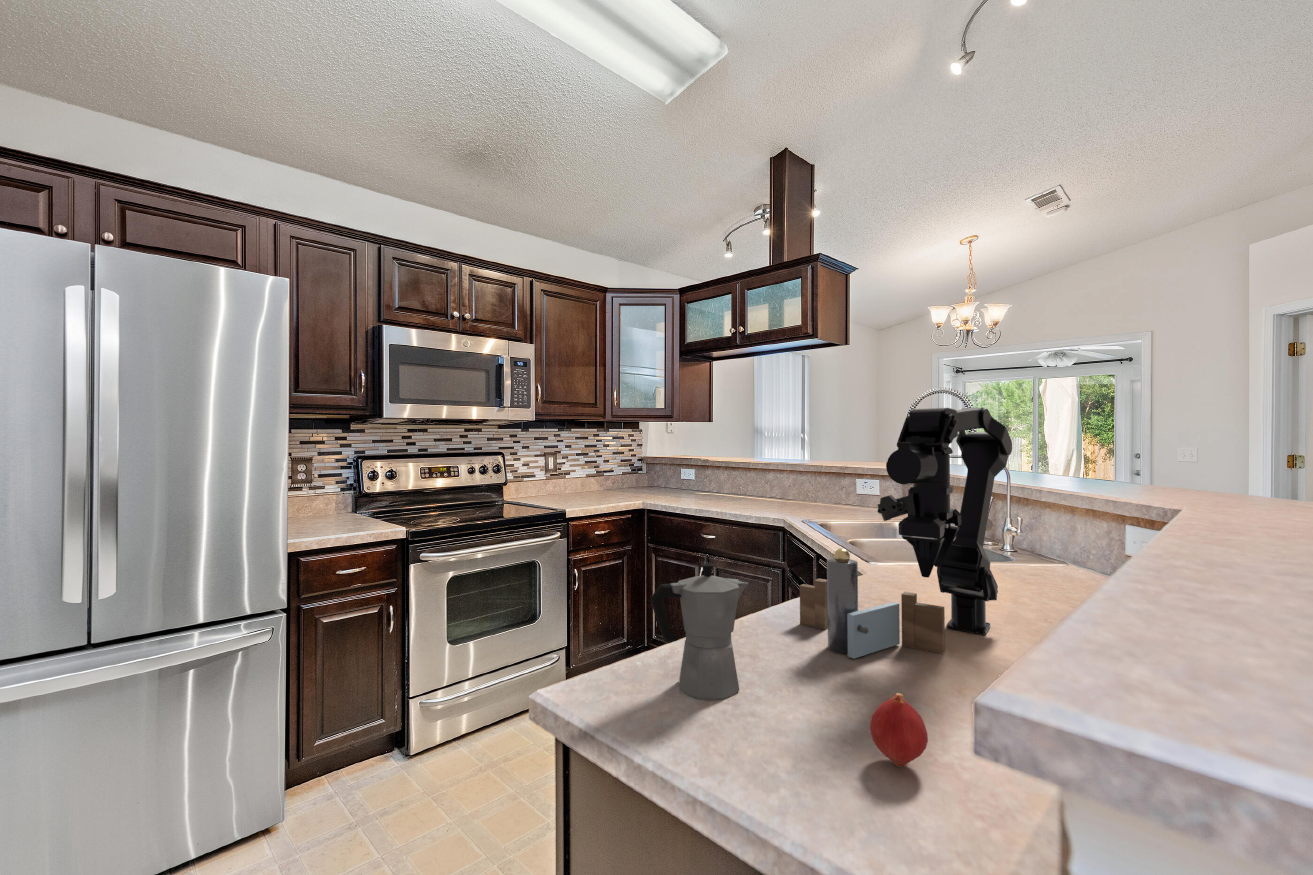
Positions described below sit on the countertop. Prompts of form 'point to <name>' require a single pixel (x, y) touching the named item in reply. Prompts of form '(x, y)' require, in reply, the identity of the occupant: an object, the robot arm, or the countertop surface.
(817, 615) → the fence
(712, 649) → the coffeepot
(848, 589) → the grey tall cylinder
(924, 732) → the onion
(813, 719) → the countertop surface
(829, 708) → the countertop surface
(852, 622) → the gate
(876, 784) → the countertop surface
